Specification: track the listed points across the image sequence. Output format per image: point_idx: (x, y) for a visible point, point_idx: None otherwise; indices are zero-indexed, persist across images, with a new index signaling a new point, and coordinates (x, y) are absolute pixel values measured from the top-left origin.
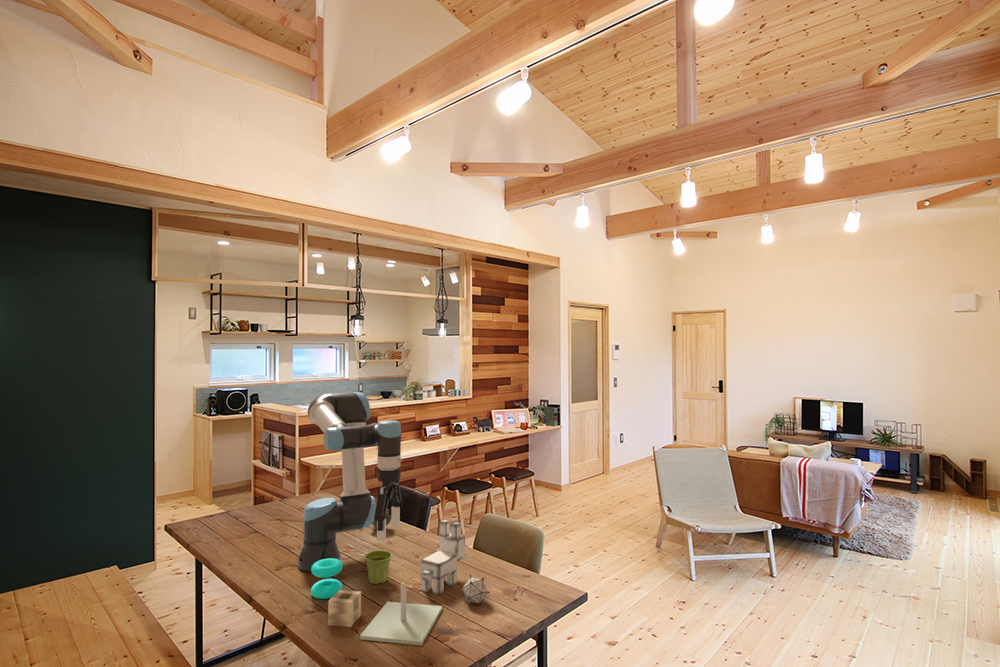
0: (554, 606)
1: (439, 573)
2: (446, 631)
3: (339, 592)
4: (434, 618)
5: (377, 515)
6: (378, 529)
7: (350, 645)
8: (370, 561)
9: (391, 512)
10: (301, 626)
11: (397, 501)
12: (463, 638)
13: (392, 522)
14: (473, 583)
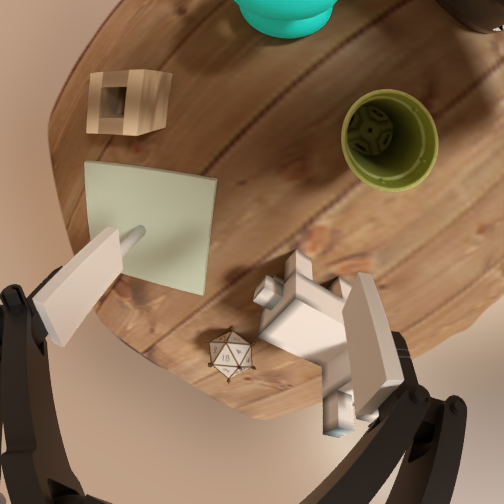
0: (229, 401)
1: (261, 320)
2: (138, 294)
3: (130, 75)
4: (157, 282)
5: (6, 324)
6: (54, 274)
7: (73, 151)
8: (346, 114)
9: (378, 342)
10: (121, 25)
11: (342, 461)
12: (128, 312)
13: (360, 294)
14: (214, 366)
